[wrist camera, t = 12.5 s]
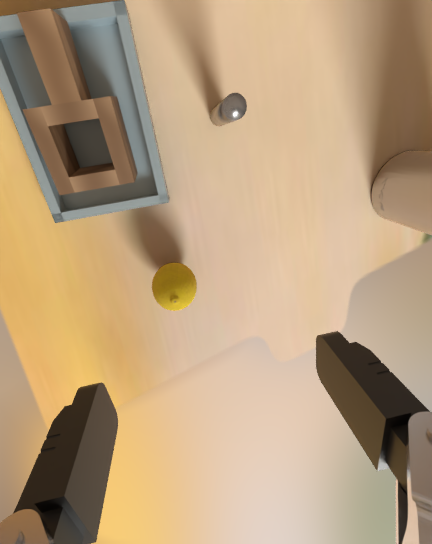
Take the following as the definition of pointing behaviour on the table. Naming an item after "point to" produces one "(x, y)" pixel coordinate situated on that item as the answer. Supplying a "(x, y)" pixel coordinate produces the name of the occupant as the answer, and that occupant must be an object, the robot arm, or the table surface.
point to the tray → (101, 83)
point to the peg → (228, 110)
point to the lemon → (174, 286)
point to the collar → (71, 109)
